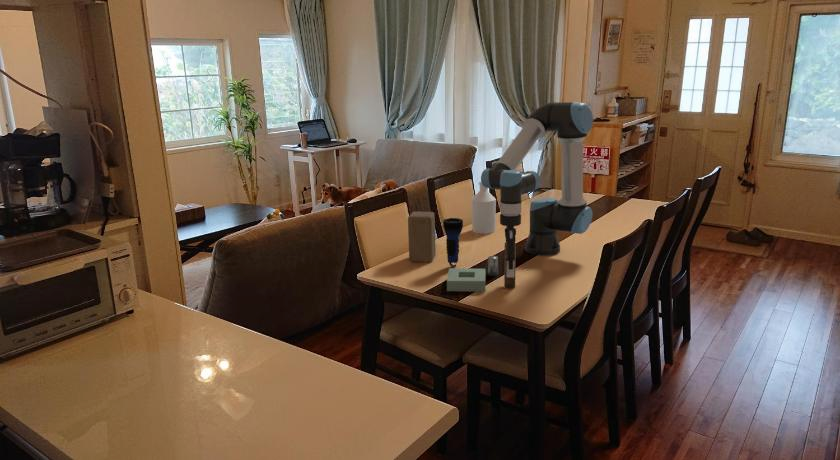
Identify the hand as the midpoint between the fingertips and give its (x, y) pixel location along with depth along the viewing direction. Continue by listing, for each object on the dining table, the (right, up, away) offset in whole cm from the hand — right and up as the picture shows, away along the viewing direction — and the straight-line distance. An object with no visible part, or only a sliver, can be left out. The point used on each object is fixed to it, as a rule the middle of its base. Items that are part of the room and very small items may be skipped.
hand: (509, 272), depth 219 cm
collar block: (-16, -5, +5) cm, 17 cm away
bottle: (-1, +15, +78) cm, 80 cm away
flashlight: (-19, 0, +25) cm, 32 cm away
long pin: (0, -6, +2) cm, 6 cm away
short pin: (-4, -2, +16) cm, 16 cm away
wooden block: (-32, +3, +37) cm, 49 cm away
